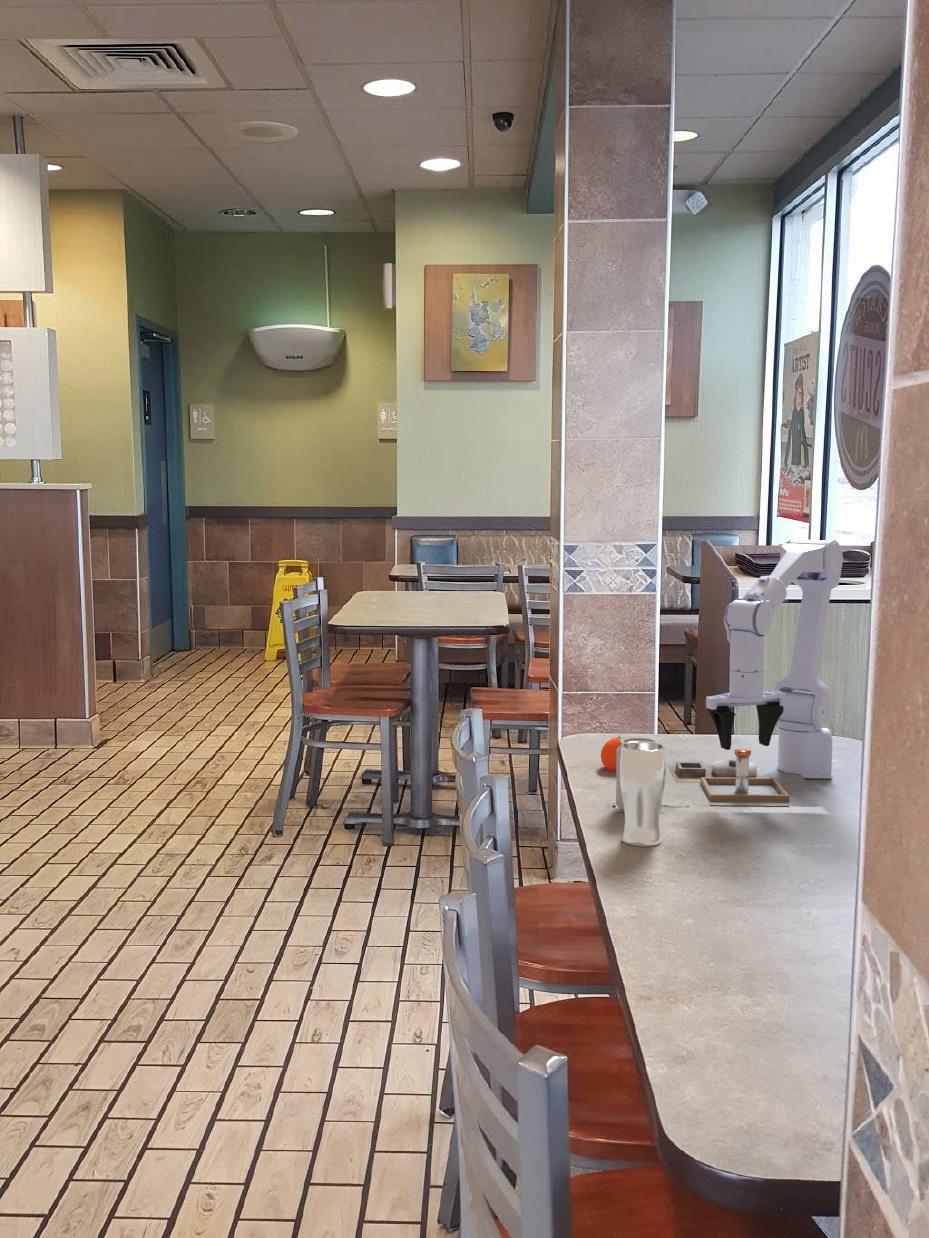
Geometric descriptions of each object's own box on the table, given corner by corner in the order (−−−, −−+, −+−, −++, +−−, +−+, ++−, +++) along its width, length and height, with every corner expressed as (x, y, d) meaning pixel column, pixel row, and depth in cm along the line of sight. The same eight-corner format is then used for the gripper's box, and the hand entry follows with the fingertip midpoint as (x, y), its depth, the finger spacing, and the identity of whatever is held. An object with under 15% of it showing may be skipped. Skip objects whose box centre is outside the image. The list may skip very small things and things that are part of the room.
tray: (774, 788, 201) (775, 777, 201) (789, 807, 190) (789, 795, 190) (700, 788, 202) (700, 777, 202) (710, 806, 191) (710, 794, 191)
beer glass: (667, 835, 176) (669, 742, 174) (660, 849, 169) (662, 752, 167) (623, 831, 178) (624, 739, 176) (614, 845, 171) (615, 749, 169)
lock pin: (743, 791, 198) (744, 748, 197) (753, 795, 195) (754, 751, 194) (730, 792, 197) (731, 749, 196) (739, 797, 194) (740, 753, 193)
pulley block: (752, 770, 214) (752, 753, 213) (765, 788, 202) (765, 769, 201) (667, 769, 214) (667, 752, 214) (675, 787, 203) (675, 768, 202)
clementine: (648, 772, 213) (649, 735, 212) (633, 781, 207) (634, 743, 206) (610, 767, 217) (610, 731, 216) (594, 775, 211) (594, 738, 210)
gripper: (770, 663, 199) (768, 738, 201) (697, 668, 195) (696, 744, 197) (793, 669, 192) (791, 747, 194) (718, 675, 188) (717, 754, 190)
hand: (744, 746), depth 195 cm, fingers open, 7 cm apart
